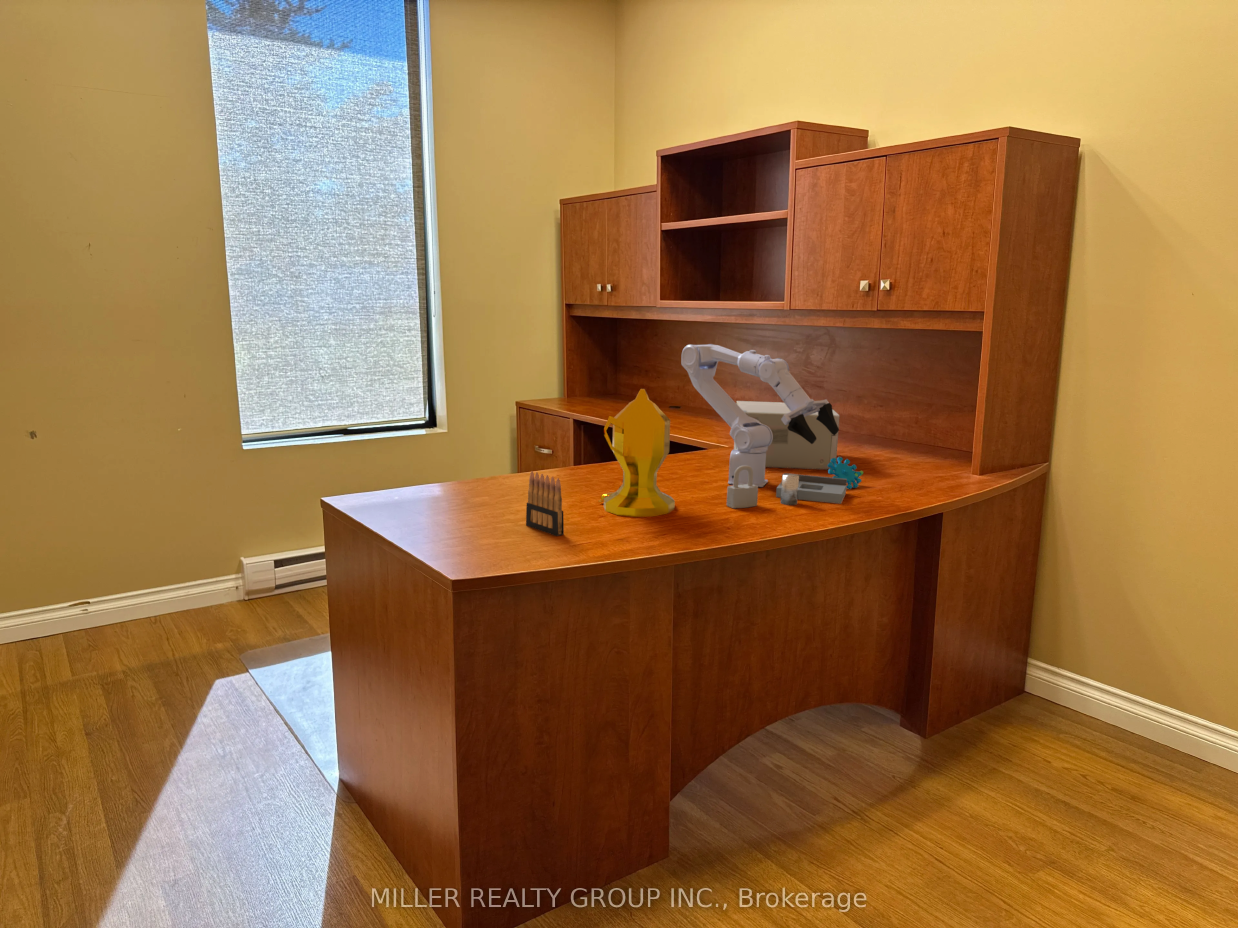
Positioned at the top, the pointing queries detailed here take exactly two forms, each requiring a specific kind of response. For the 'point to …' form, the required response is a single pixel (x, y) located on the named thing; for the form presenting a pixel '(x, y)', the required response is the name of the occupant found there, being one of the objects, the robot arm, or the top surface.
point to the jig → (819, 489)
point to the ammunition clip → (545, 505)
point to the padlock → (742, 491)
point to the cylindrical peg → (789, 489)
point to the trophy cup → (639, 459)
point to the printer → (793, 438)
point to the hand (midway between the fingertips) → (825, 437)
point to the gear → (845, 472)
